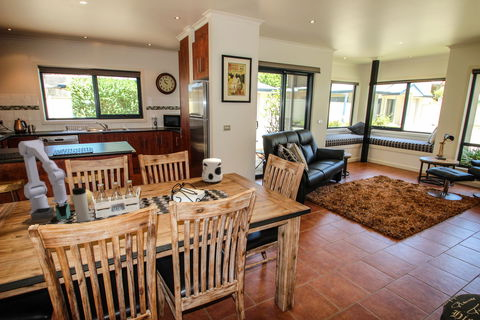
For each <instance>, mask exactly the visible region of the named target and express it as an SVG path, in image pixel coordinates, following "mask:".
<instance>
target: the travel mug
mask: <svg viewBox="0 0 480 320" xmlns="http://www.w3.org/2000/svg"><path fill="white" fill-rule="evenodd" d="M86 189H87V188H86V187H85V186H81V187H73V188H72V189H71V190H72V191H71V192H72V194H73V199H74V204H73V205H74V212H75V219H76V223H77V224H81V223H80V222H86V223H88V222H90V221H91V218H90V211H89V204H88V202H87V195H86Z"/></svg>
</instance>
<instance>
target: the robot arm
mask: <svg viewBox="0 0 480 320" xmlns="http://www.w3.org/2000/svg"><path fill="white" fill-rule="evenodd" d="M44 148H45V145H44V142H43V141H42V140H41V139H33V140H24V141H20V142H19V143H18V151H19V154H20V156H22V157H23V161H24V165H25V169H26V175H27V178H28V182H27V183H26V184H25V185H24V186H23V189H24V190H23V193H24V196H25V197H26V198H27V199H29V202H30V209H31V210H30V211H29V212H28V214H30V215H31V214H32V213H33V212H34V211H35V210H36V209H39V208H49V207H51V205H49V201H48V197H47V196H46V195H47V192H48V188H47V186H46V183H45V182H44V181H43V180H42V181H41V180H40V176H39V170H38V167H37V161H36V158H37V159H38V160H39V161H40V162H41V163H42V164H41V167H42V168H43V170H44V171H45V172H46V173H47V178H48V180H49V182H50V185H51V186H52V192H53V193H52V194H53V199H52V200H51V201H52V203H55V204H56V205H55V206H54V208H55V207H56V208H57V209H58V211H59V213H60V215H61V217H62V216H66V208H67V206H68V204H69V203H68V202H67V201H68V196H67V190H66V185H65V180H66V178H67V175H66V173H65V170H63V169H62V168H59V167H58V165H57V164H56V162H55V161H54V160H52V159H49V156H48V154H47V153H46V152H45V149H44ZM64 203H68V204H64ZM58 204H59V205H58Z"/></svg>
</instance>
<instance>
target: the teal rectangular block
mask: <svg viewBox="0 0 480 320" xmlns="http://www.w3.org/2000/svg"><path fill="white" fill-rule="evenodd" d="M64 204H68V206H67V208H66V216H62V217H61V215H60V213H59V211H58V209H57V208H56V207H55V206H54V210H55V211H56V220H57V221H62V220H61V219H64V220H68V219H69V218H70V217H71V210H70V205H69V202H66V203H64ZM58 205H59V204H58ZM69 216H70V217H69Z"/></svg>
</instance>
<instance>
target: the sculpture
mask: <svg viewBox="0 0 480 320" xmlns="http://www.w3.org/2000/svg"><path fill="white" fill-rule="evenodd" d="M85 189H86V195H87V202H88V205H90V204H92V202H93V200H92V196H93V197H94V195H93V193H92V191H90V189H87V188H85ZM70 201H71V202H72V204H73V205H74V199H73V193H71V195H70Z"/></svg>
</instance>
